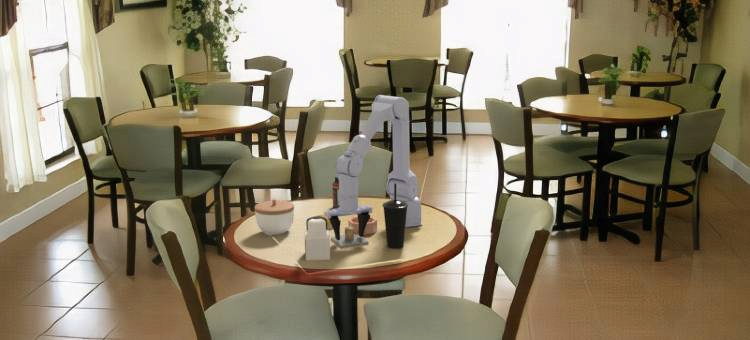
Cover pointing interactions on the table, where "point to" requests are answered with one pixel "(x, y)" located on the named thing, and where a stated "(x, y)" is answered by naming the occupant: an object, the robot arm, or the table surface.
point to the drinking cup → (395, 221)
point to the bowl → (369, 228)
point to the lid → (349, 239)
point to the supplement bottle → (336, 193)
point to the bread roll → (327, 222)
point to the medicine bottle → (317, 239)
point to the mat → (348, 247)
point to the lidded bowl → (274, 216)
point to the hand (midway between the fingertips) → (349, 237)
